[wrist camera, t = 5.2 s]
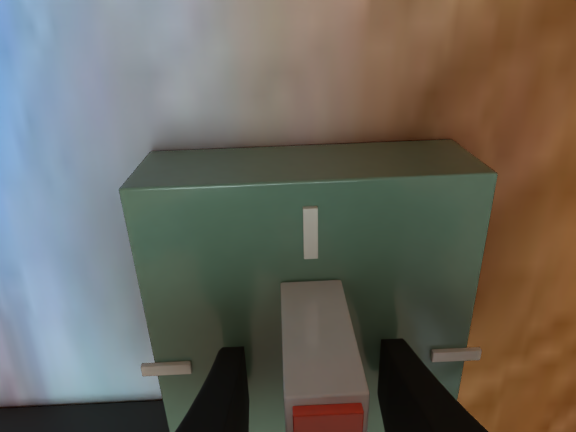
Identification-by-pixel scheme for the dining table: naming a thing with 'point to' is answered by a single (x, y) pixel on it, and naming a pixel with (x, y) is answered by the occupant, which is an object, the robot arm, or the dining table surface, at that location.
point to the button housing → (87, 418)
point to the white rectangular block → (321, 360)
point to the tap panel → (305, 256)
